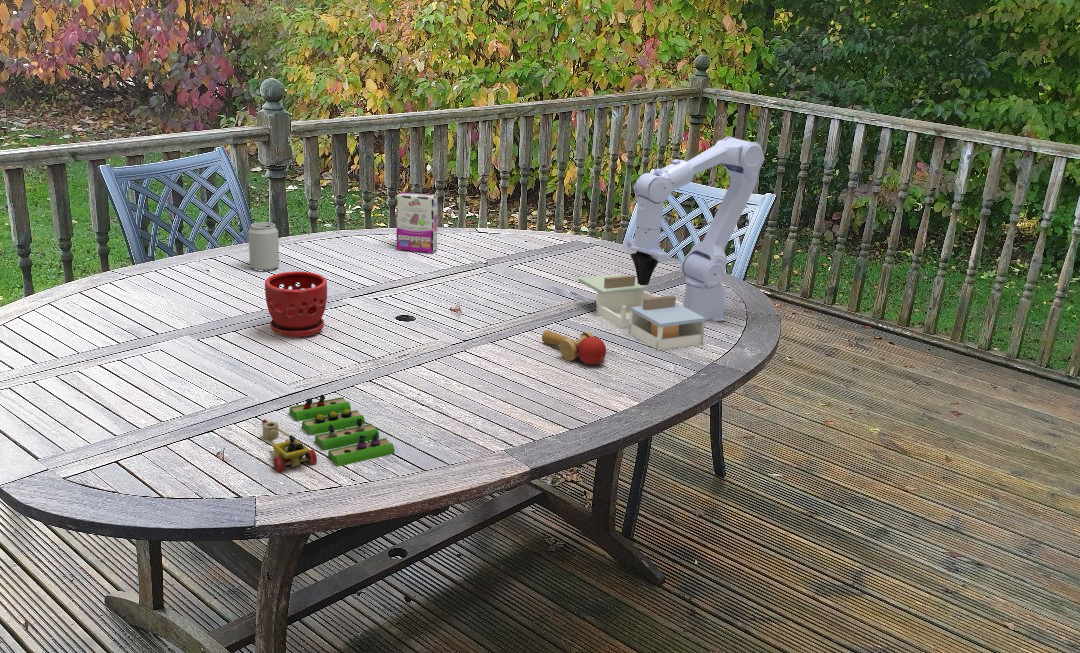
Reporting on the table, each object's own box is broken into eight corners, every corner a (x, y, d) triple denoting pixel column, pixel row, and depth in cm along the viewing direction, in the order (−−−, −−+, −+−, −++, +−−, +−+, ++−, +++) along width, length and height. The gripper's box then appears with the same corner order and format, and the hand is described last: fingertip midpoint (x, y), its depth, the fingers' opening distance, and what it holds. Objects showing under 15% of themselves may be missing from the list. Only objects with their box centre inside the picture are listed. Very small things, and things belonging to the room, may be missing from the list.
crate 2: (671, 330, 228) (674, 305, 226) (702, 347, 218) (705, 321, 216) (628, 335, 222) (630, 310, 221) (657, 353, 213) (660, 327, 211)
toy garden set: (395, 456, 162) (395, 431, 160) (283, 481, 152) (282, 455, 150) (342, 405, 180) (342, 382, 178) (238, 425, 170) (237, 401, 168)
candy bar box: (437, 249, 285) (438, 194, 280) (433, 254, 280) (434, 198, 275) (400, 246, 287) (401, 191, 281) (395, 250, 282) (395, 194, 276)
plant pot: (255, 330, 214) (252, 277, 210) (305, 317, 223) (304, 267, 219) (288, 346, 205) (287, 292, 201) (340, 332, 215) (339, 280, 211)
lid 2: (674, 305, 226) (675, 292, 225) (705, 321, 216) (706, 307, 215) (630, 310, 220) (631, 297, 219) (660, 327, 211) (661, 313, 209)
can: (275, 272, 255) (273, 228, 251) (246, 271, 255) (244, 226, 251) (282, 265, 262) (281, 221, 258) (254, 263, 262) (252, 220, 258)
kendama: (530, 352, 213) (585, 367, 200) (533, 323, 213) (589, 337, 199) (557, 352, 218) (612, 366, 205) (560, 324, 218) (616, 337, 204)
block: (666, 336, 221) (667, 318, 219) (677, 343, 217) (679, 324, 216) (649, 338, 219) (651, 320, 217) (660, 345, 215) (662, 326, 214)
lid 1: (619, 276, 246) (620, 264, 245) (645, 290, 236) (646, 277, 235) (578, 280, 241) (578, 268, 240) (602, 294, 231) (603, 281, 230)
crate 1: (637, 310, 240) (639, 287, 238) (664, 326, 230) (666, 301, 228) (595, 315, 235) (597, 292, 233) (621, 331, 225) (623, 307, 223)
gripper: (617, 220, 225) (612, 277, 230) (650, 235, 213) (645, 294, 218) (642, 219, 229) (637, 274, 233) (677, 233, 216) (671, 292, 221)
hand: (643, 284), depth 226 cm, fingers closed
